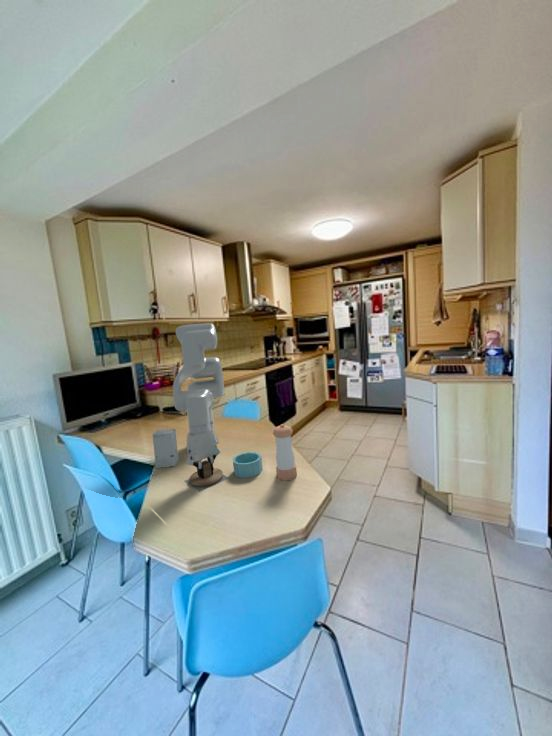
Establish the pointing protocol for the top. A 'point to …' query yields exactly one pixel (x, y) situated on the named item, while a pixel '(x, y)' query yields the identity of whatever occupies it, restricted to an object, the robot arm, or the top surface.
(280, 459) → the salt shaker
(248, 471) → the bowl
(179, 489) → the top surface
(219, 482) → the mat
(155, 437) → the skincare box
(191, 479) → the lid
